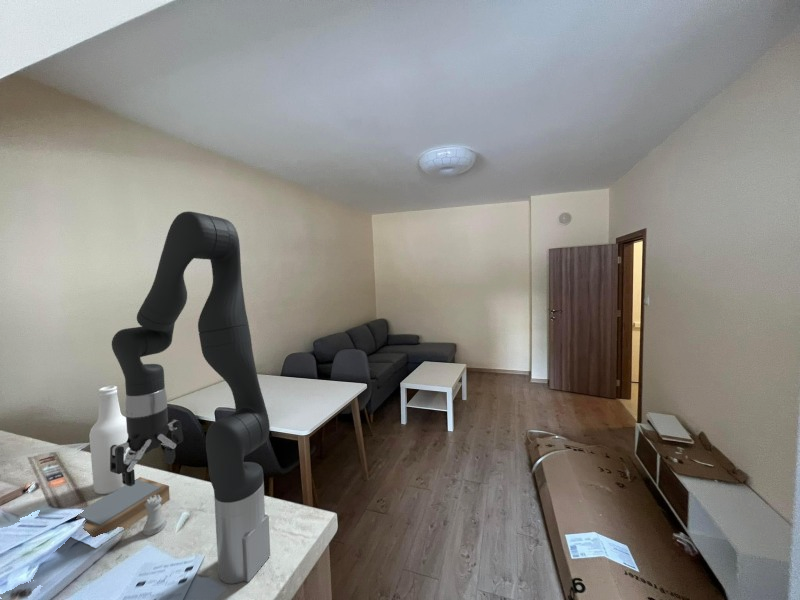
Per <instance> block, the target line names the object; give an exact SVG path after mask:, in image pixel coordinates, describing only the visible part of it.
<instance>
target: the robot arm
mask: <svg viewBox="0 0 800 600" xmlns="http://www.w3.org/2000/svg"><path fill="white" fill-rule="evenodd" d="M166 234H167V235H166V237H165V242H164V245H163V248H162V251H161V253H160V254H161V255H160V259H159V262H158V266H157V270H156V274H155V277H154V281H153V283H152V284H151V285H152V286H150V287H151V288H150V290H149V292H148V294H147V295H146V297H145V299H144V301H143V303H142V304H141V306H140V308H139V310H138V312H137V314H136V321H137V323H138V324H139V326H137V327H129V328H124V329H120V330H118V331H117V332H116V333H115V334H114V335H113V337H112V340H111V349H112V351H113V354H114V356H115V357H116V360H117V362H118V364H119V366H120V369H121V371H122V374H123V376H124V380H125V382H124V386H125V402H124V403H125V408H124V409H125V412H124V414H125V417H126V424H127V433H128V440H127V442H125V443H123V444H120V445H113V446H111V448H110V471H111V472H113V473H116V474H121V473H122V482H123V484H125V485H127V486H130V487H131V486H133V485H134V484H135V480H136V478H135V477H136V476H135V475H136V474H135V475H134V473H135V466H136V465H137V463H138V462H139V461H140V460H141V459H142V457H143V456H144V455H145V454H148V453H149V452H151V451H152V450H154V449H157V448H159V447H160V445H162V446H163V447H165V448H164V461H165V464H168V465H172V464H174V463H175V460H176V447H177V445H179V444H181V443H183V442H184V435H183V433H184V432H183V425H182V424H183V423H182V421H181V420H177V419H171V420H170V422H169V418H168V417H169V413H168V412H169V411H168V399H167V398H168V397H167V392H166V387H165V385H166V383H165V370H164V367H163V366H162V365H161V364H158V363H145V364H144V363H143V361H142V359H141V358H142V357H147V356H152V355H156V354H160V353H162V352H164V351H166V350H167V349H168V348H170V346H171V345H172V342H173V336H174V335H173V334H174V329H175V324H176V322H177V320H178V319H179V317H180V315H181V313H182V312H183V310H184V309H185V306H186V303H187V300H188V291H187V286H186V283H185V275H184V274H185V271H186V269H187V268H188V266H189V264H190V263H191V262H192V261H193V260H194V259H197V260H200V259H201V260H209V261H210V266H211V272H212V273H211V274H212V285H211V288H210V291H209V294H208V296H207V298H206V300H205V303H204V305H203V307H202V310H201V312H200V315H199V317H198V322H197V330H198V336H199V341H200V342H199V344H200V349H201V353H202V357H203V358H204V360H205V361H206V363H207V364H208V365H209V366H210V367H211V368H212V369H213V370H214V371H215V372H216V374H218V375H219V376H220V377H221V378H222V379H223V380H224V381H225V382H226V383H227V385H228V386H229V388H230V390H231V393H232V397H233V401H234V407H235V411H233V412H231V413H230V414H227V415H226V416H223V417H221V418H220V419H218V420H216V421H214V422H213V423H211V424H210V425H209V426H208V429H207V431H206V435H205V449H206V450H205V451H206V457H207V467H208V473H209V474H208V476H209V480H210V483H211V486H212V488H213V496H214V497H213V498H214V515H215V516H214V517H215V531H216V532H215V534H216V535H215V537H216V538H215V539H216V552H217V554H216V555H217V565H218V566H217V568H218V569H217V570H218V571H217V572H218V577H219V579H220V580H221V581H222V582H223V583H226V584H232V585H233V584H238V583H242V582H246V583H249V582H250V581H251V580H252V579H253V578H254V576H255V575H256V574H257V573H258V572H257V571H260V569H261V568H262V567H263V566H264V565H265V563H266V562H267V561H266V560H269V558H270V557H271V539H270V538H271V537H270V536H271V535H270V517H269V515H268V514H266V511H265V510H266V508H265V507H266V506H265V484H264V483H265V481H264V479H265V478H264V470H263V467H262V465H260V464H259V463H257V462H253V461H245V460H244V458H245V457H246V456H248V455H250V454H251V453H252V452H254V451H255V450H257V449H258V448H259V447H261V446H262V445H264V443H265V442H266V441H267V440H268V439H269V435H270V432H271V431H270V420H269V414H268V410H267V407H266V403H265V400H264V397H263V393H262V389H261V386H260V382H259V377H258V372H257V366H256V362H255V357H254V352H253V344H252V336H251V331H250V330H251V329H250V325H249V319H248V316H247V309H246V305H245V304H246V303H245V296H244V294H245V293H244V289H243V288H244V287H243V281H242V280H243V279H242V266H241V264H242V263H241V259H242V258H241V247H240V239H239V234H238V231H237V228H236V227H235V225H234V224H233V223H232V222H231V221H230V220H228V219H225V218H222V217H218V216H214V215H211V214H210V215H209V214H205V213H200V212H196V211H183V212H180V213H179V214H177V215H176V217H175V218H174V219H173V221H172V223H171V224H170V226H169V228H168V232H167V233H166ZM169 431H170V432H171V433H170V434H171V439H170V438H168V437H167V434H168V433H169ZM128 447H129V448H130V449H129V451H128V453H127V454H126V456H125V460H124V454H125V453H126V449H127V448H128ZM135 453H136V454H135ZM133 468H134V469H133ZM269 556H270V557H269ZM268 557H269V558H268ZM265 561H266V562H265ZM261 566H262V567H261Z"/></svg>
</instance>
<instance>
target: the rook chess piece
mask: <svg viewBox="0 0 800 600" xmlns="http://www.w3.org/2000/svg"><path fill="white" fill-rule="evenodd" d="M161 500H162V498H161V497H160V496H159V495H157V496H156V495H154V497H153V498H152V497H149V499H147V500H146V503H145V507H147V510H146V511H147V512H148V514H147V515H146V516H147V518H146V521H145V523H144V526H143V531H142V532H143V534H144V535H145V536H148V537H149V536H150V537H151V536H155V535H156V534H158V533H160V532H161V531H163V529H165V527H166V525H167V524H168V523H167V518H166V517H165V515H164V514H162V509H161V506H162V505H161V504H160V502H161Z"/></svg>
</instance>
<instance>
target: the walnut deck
mask: <svg viewBox="0 0 800 600" xmlns="http://www.w3.org/2000/svg"><path fill="white" fill-rule="evenodd" d="M136 479H137V480H140V481H143V482H146V483H149V484H153V485H156V486H159V487H161V489H159V490H158V491H156V492H154V493H153V494H151V495H150V496H148V497H146V498H145V499H143V500H142V501H140V502H138V503H137V504H135V505H134V506H132V507H130V508H129V509H127V510H125V511H124V512H122V513H121V514H119V515H117V516H116V517H114V518H113V519H111V520H109V521H108V522H106V523H105V524H103V525H101V526H98V525H96V524H93V523H91V522H88V521H86V522H85V524H84V528H83V529H84V530H85V531H87V532H88V533H89V534H90V536H92V537H96V536H98V535H100V534H103V533H107V532H109V531H111V530H114V529H116V528H117V527H123V528H124V531H125V530H126V529H128V528H129V527H132V525H134V524H135V523H137V522H139V521H140V520H142V519H143V518H144V517H146V516H148V512H147V511H146V510H147V507H145V503H146V500H147V499H149V497H152V498H153V497H154V495H156V496H157V495H159V496H160V497H161V498H162V500H161V502H160V504H161V506H162V505H164V504H165V503H167V502H168V501H170V499H171V497H170V496H171V494H170V486H169V485H167V484H164V483H162V482H157V481H155V480H152V479H147V478H145V477H138V478H136ZM125 486H126V485H125ZM123 487H124V486H123ZM121 488H122V487H121ZM116 491H117V490H116ZM114 492H115V491H114ZM112 493H113V492H112ZM106 496H107V495H105V496H104V497H106ZM104 497H102V498H104ZM97 501H98V500H96V501H94V502H93V503H95V502H97ZM88 506H89V505H87V506H85V507H83V508H82V509H84V508H86V507H88ZM76 519H80V518H79V517H77V518H76Z"/></svg>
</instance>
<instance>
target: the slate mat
mask: <svg viewBox="0 0 800 600" xmlns="http://www.w3.org/2000/svg"><path fill="white" fill-rule="evenodd" d="M137 479H138V478H135V484H134V485H133V486H131V487H130V486H127V485H126V486H124V487H122V488H120V489H118V490H117V491H115V492H113V493H109V494H106V495H105V496H106V497H105V496H104V498H103V497H101V498H100V499H98V500H96V501H97V502H96V501H94V502H95V503H94V502H93V503H91V504H89V505H87V506H88V507H87V506H85V507H86V508H85V507H83V508H84V509H83V508H82V509H81V510H84V511H83V512H82V513H80V514H78V515H77V517H79V518H85V519H87V521H88V522H91V523H93V524H96V525H98V526H101V525H103V524H105V523H106V522H108V521H109V520H111V519H113V518H114V517H116V516H117V515H119V514H121V513H122V512H124V511H125V510H127V509H129V508H130V507H132V506H134V505H135V504H137V503H138V502H140V501H142V500H143V499H145V498H146V497H148V496H150V495H151V494H153V493H154V492H156V491H158V490H159V489H161V487H159V486H156V485H153V484H149V483H146V482H143V481H140V480H137Z"/></svg>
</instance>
